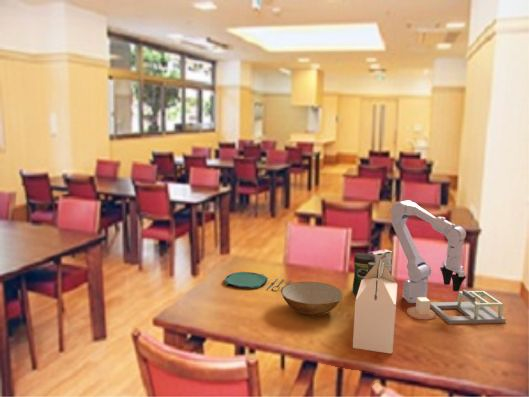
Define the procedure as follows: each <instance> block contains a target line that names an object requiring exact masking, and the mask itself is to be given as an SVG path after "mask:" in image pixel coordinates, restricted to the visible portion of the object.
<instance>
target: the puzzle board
mask: <svg viewBox="0 0 529 397" xmlns="http://www.w3.org/2000/svg"><path fill="white" fill-rule="evenodd" d="M475 302H477V303H480V300H479V301H478V300H475ZM430 309H431V310H432V311H434V312H435V314H436V315H439V316H440V317H441V318H442V319H443V320H444V321H445V322H446V323H448V325H463V324H464V325H466V324H468V325H469V324H470V325H471V324H473V325H474V324H499V323H501V324H502V323H503V324H504V323H506V320H507V319H506V318H505V317H504V316H503V315H502V316H498V312H497V311H495V310H494V309H492V308H491V307H490V306H488V307H479V310H478V317H475V316H474V311H475V305H473V304H472V303H471V302H469V301H461V304H458V301H442V302H441V301H439V302H431V301H430ZM452 309H455V310H458V312H460V313H461V314H463V315H462V316H461V315H460V316H458V315H457V316H455V315H454V316H449V315H448V314H447V313H446V312H444V311H443V310H452Z"/></svg>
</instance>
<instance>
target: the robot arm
mask: <svg viewBox="0 0 529 397" xmlns="http://www.w3.org/2000/svg"><path fill="white" fill-rule="evenodd" d="M389 211H390V214H391V226H392V227H393V229H394V232H395V234H396V237H397V239H398V242H399V243H400V247H401V248H402V250H403V252H404V255H405V257H406V259H407V263H406V264H407V265H406V268H407V275H408V278H409V279H406V280H404V281H403V290H402V296H401V297H402V298H403V299H404V300H405V301H406V302H407V303H408V304H416V300H417V297H426V298H427V294H428V282H429V277H430V276H431V274H432V269H431V266H430V265H429V264H428V263H427V261H426V259H424V258H423V257H422V256H421V255H420V253H419V251H418V249H417V246H416V245H415V244H416V243H415V242H414V240H413V238H412V235H411V232H410V230H409V228H408V226H407V224H406V223H407V221H408V219H409V217H410V216H415V217H418V218H419V219H421V220H423V221H425V222H427V223H429V224H430V225H431V228H432V229H433V230H435V231H436V232H438V233H440V234H441V235H443V236H444V237H446V240H447V250H446V258H445V260H443V261H442V266H443V267H442V266H441V267H440V268H439V269H440V271H441V274H442V278H443V285H444V286H447V285H448V286H450V284H451V282H452V291H453V292H459V291H460V288H461V287H462V284H463V282H464V281H465V280H466V277H467V276H466V275H465V271H464V270H463V269H464V266H463V265H462V258H463V257H462V256H463V248H464V239H465V238H466V236H467V231H466V228H464V227H463V226H461V225H456V224H455V223H452V222H450V221H449V220H446V219H447V218H446V217H444V216H437V217H436V216H434V215H433V214H431V213H430V212H428V211H427V210H426V209H424V208H423V207H422V206H419V205H418V204H417V202H413V201H412V200H410V199H405V200H402V201H396V202H394V203H393V204H392V206H391V208H390V210H389ZM454 273H455V274H454Z"/></svg>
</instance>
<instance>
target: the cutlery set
mask: <svg viewBox="0 0 529 397" xmlns="http://www.w3.org/2000/svg"><path fill="white" fill-rule="evenodd" d="M268 279H269V278H268V277H267V276H266V275H264V274H262V273H257V272H249V271H237V272H232V273H230V274H228V275H226V277H225V279H224V284H225V286H228V285H230V286H233V287H235V288H244V289H252V290H253V288H254V289H259V288H260V287H262V286H264V285H266V284H267V282H268ZM276 280H277V281H278V278H276V279H275V280H274V281H273V282H271V283H270V285H269V286H268V287H266V291H269V290H270V289H271V290H272V289H273V288H274V287H279V288H277V290H278V291H279V290H281V289H282V288H283V287H284V286H286V285H288V284H291V280H290V279H289V280H288V281H287V283H286V284H285V285H284V286H282V287H280V285H281V284H282V283H283V282H284V281H285V280H284V279H283V278H282V279H281V280H280V281H279V283H278V285H276V286H274V285H275V283H276ZM272 286H273V287H272ZM271 287H272V288H271ZM269 288H270V289H269ZM280 288H281V289H280ZM268 289H269V290H268ZM277 290H275V288H274V289H273V290H272V291H275V292H276V291H277Z"/></svg>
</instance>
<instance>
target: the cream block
mask: <svg viewBox="0 0 529 397" xmlns="http://www.w3.org/2000/svg"><path fill="white" fill-rule="evenodd" d="M430 303H431V300H430V299H429V298H427V297H417V300H416V303H415V307H416V311H417V312H418V313H419V314H429V312H430V310H431V307H430Z"/></svg>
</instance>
